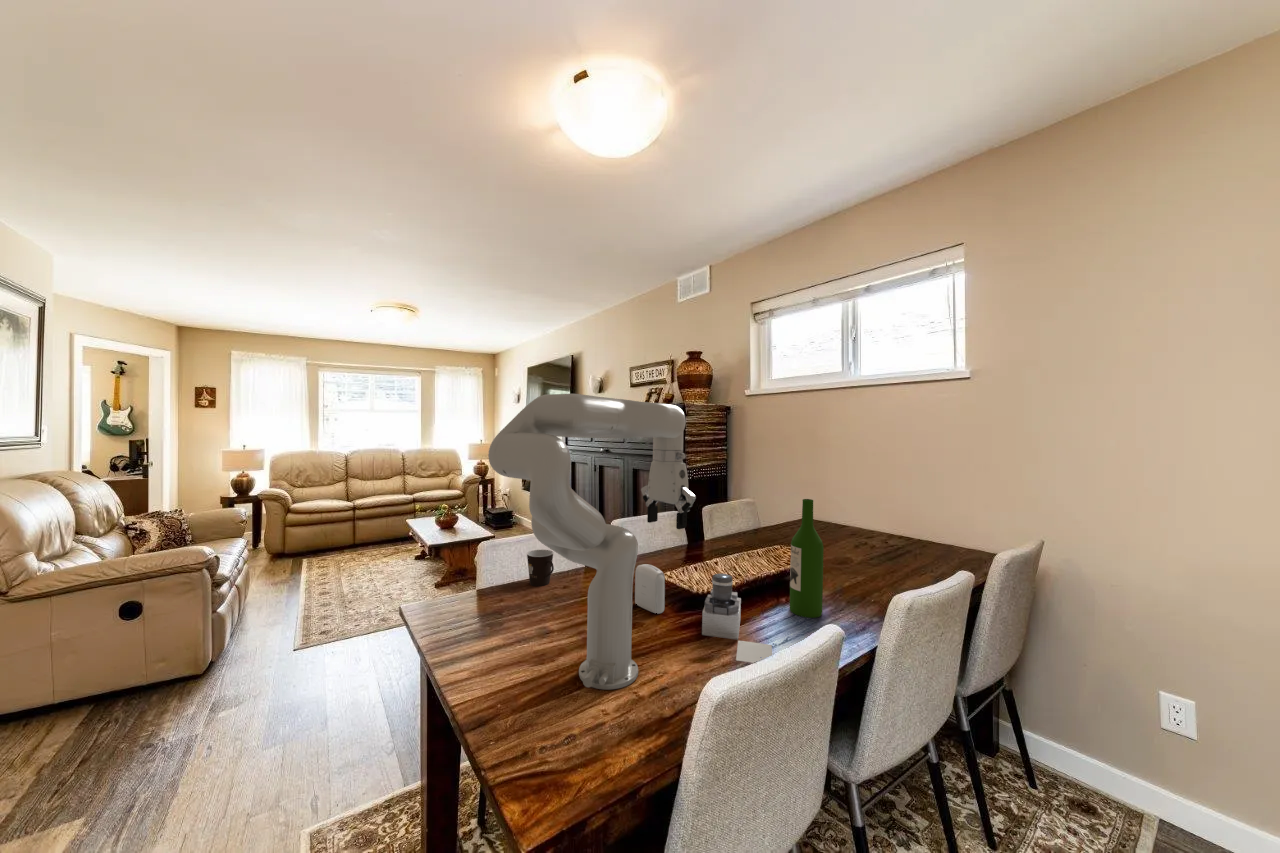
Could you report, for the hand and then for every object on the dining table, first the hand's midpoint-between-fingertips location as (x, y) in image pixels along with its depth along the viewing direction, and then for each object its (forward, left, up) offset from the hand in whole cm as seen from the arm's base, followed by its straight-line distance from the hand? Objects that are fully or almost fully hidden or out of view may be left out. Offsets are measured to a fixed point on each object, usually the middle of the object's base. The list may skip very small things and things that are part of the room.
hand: (666, 525), depth 116 cm
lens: (+9, -13, -22) cm, 27 cm away
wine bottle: (+28, -36, -28) cm, 54 cm away
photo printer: (+17, +8, -29) cm, 34 cm away
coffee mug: (+25, +47, -28) cm, 60 cm away
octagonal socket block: (+10, -14, -28) cm, 33 cm away
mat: (-2, -22, -28) cm, 36 cm away
